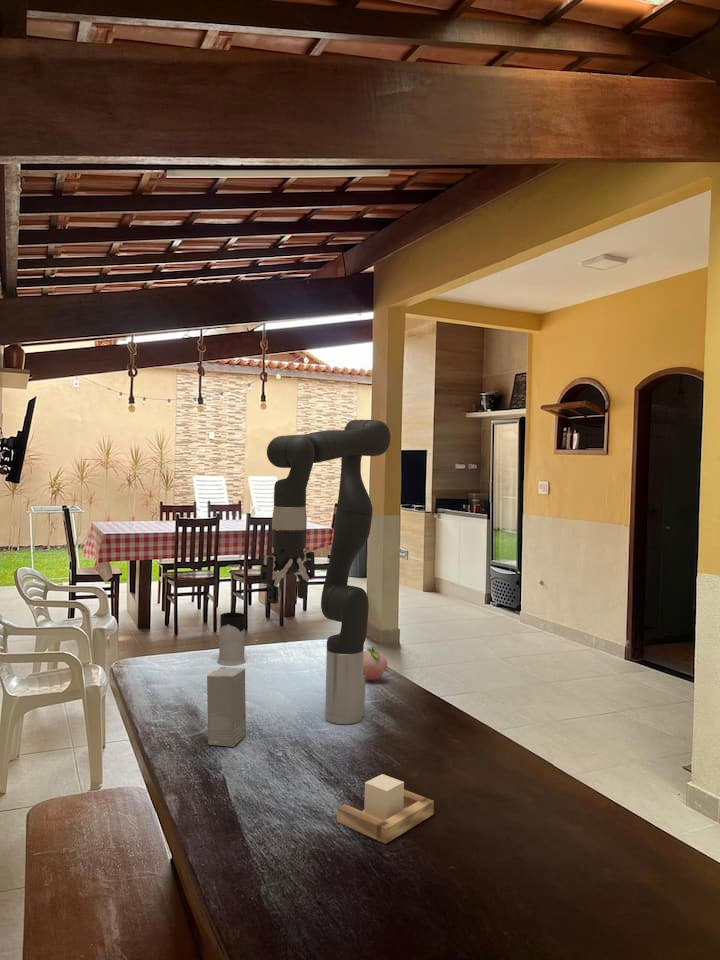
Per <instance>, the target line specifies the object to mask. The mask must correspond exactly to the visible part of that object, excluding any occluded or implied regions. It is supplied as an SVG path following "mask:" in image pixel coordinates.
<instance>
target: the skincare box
mask: <svg viewBox="0 0 720 960" xmlns="http://www.w3.org/2000/svg"><path fill="white" fill-rule="evenodd" d="M206 681H207V682H206V689H207V693H206V695H207V696H206V698H207V700H206V701H207V745H209V746H220V747H221V746H222V747H229V748H230V747H231V748H235V746H237V744H238V743H239V742H241V740H242V739H243V738H245V736H246V735H247V725H246V723H247V718H246V717H247V715H246V714H247V713H246V710H247V709H246V704H247V703H246V668H244V667H223V666H222V667H220V668H218V669H215V670H213V671H212V672H211V673H209V674H208V675H206Z"/></svg>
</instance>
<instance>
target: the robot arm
mask: <svg viewBox="0 0 720 960" xmlns="http://www.w3.org/2000/svg"><path fill="white" fill-rule="evenodd" d="M390 443H391V432H390V428H389V427H388V424H386V423H385V422H384V421H381V420H379V419H352V420H349V421H348V422H347V423H346V424H345V427H344V429H336V430H335V429H333V430H330V429H329V430H319V431H314V432H309V433H305V434H294V435H293V434H291V435H288V434H287V435H280V436H275V437H274V438H273V439H272V440H271V441H270V442H269V443H268V445H267V447H266V456H267V458H268V461H269V462H270V464H272V465H273V466H274V467H277V468H281V469H289V473H288V474H287V477H286V478H281V479H278V480H276V481H275V483H274V487H273V510H272V517H271V518H272V522H271V547H272V549H273V555H262V556H261V565H260V580H259V581H260V583H261V584H264V585H267V600H268V602H269V604H272V605H273V604H274V605H277V604H279V596H280V595H279V593H280V592H279V588H280V587H279V586H278V585H279V584H280V582H281V581H282V579H283V578H284V577H285V575H289V574H294V575H295V576H296V579H297V580H298V581H297V586H296V587H297V589H296V595H297V598H298V599H303V600H304V599H306V598H307V596H308V582H309V581H310V580H311V579H314V578H315V577H316V573H315V571H316V570H315V569H316V565H315V562H316V561H315V552H314V551H309V550H305V549H306V548H307V527H308V526H307V521H308V520H307V519H308V515H307V507H306V506H307V486H308V484H309V480H310V476H311V472H312V469H313V465H314V464H317V463H318V464H319V463H323V462H329V461H331V460H335V459H341V461H340V463H341V465H340V480H339V489H338V497H337V503H336V509H335V515H334V516H335V517H334V522H333V523H334V524H333V536H332V543H331V548H330V549H331V550H330V556H329V560H328V565H327V569H326V574H325V579H324V583H323V587H322V592H321V597H320V609H321V612H322V615H323V617H324V618H325V619H328V620H329V621H334V622H340V623H341V625H340V632H339V633H337V634H333V635H330V636H329V637H327V640H326V661H325V662H326V663H325V664H326V667H325V703H324V704H325V706H324V708H325V710H324V712H325V713H324V714H325V715H324V718H325V720H326V721H327V722H329V723H333V724H337V725H352V724H356V723H359V722H361V720H362V719H363V718H364V717H365V714H366V713H365V711H366V709H365V707H366V705H365V703H366V678H364V675H363V652H365V651H364V650H365V649H364V645H365V643H366V638H367V636H368V635H367V633H368V622H369V621H368V619H369V608H370V607H369V597H368V594H367V592H366V590H365V589H363V588H362V587H359V586H354V585H349V584H348V583H349V581H348V580H349V577H350V576H349V575H350V571H351V567H352V564H353V562H354V561H355V559H356V557H357V556H358V554H359V553H360V551H361V550H362V549H363V547H364V546H365V544H366V542H367V540H368V539H369V537H370V533H371V527H372V518H373V512H374V511H373V503H372V501H371V499H370V498H371V497H370V495H369V493H368V492H367V491H368V490H367V489H366V487H365V483H364V482H363V479H362V478H363V477H362V473H361V472H362V469H361V468H362V457H363V456H364V457H377V456H381V455H383V454H385V452H387V450H388V449H389V447H390Z"/></svg>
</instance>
